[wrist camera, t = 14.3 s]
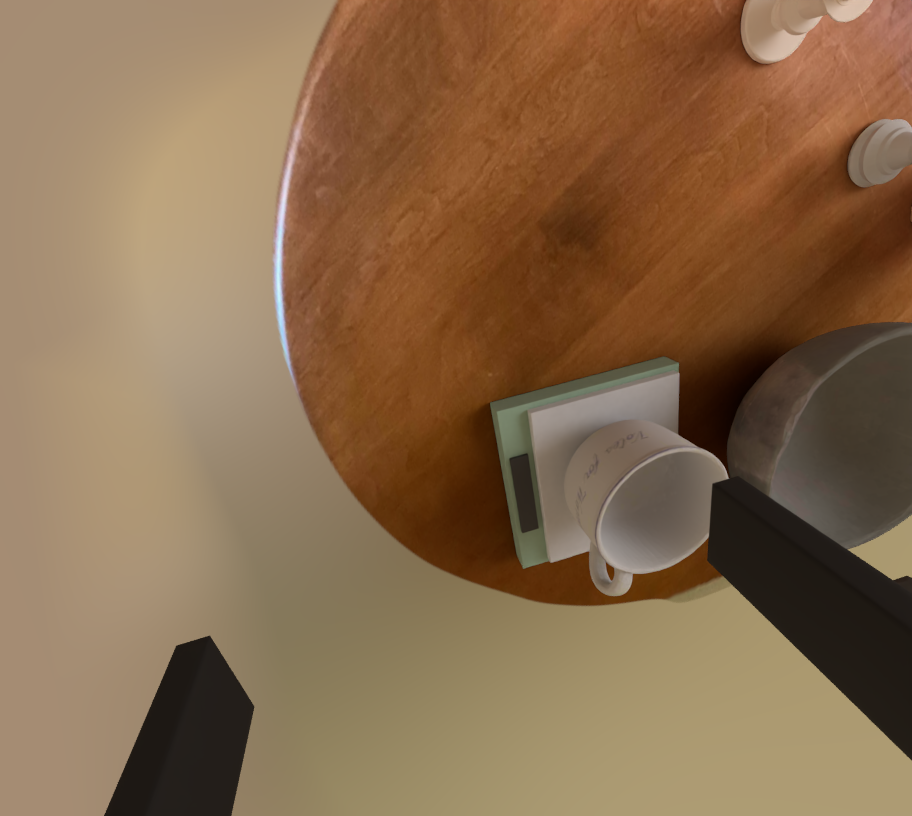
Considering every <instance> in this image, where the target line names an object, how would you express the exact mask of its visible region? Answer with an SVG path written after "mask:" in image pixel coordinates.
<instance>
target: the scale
mask: <svg viewBox="0 0 912 816" xmlns="http://www.w3.org/2000/svg"><path fill="white" fill-rule="evenodd" d="M490 406H491V412H492V418H493V423H494V429H495V435H496V440H497V446H498V452H499V457H500V463H501V469H502V474H503V480H504V486H505V491H506V497H507V502H508V508H509V514H510V519H511V525H512V531H513V536H514V542H515V548H516V553H517V556H518V558H519V561H520V563H521V565H522V567H523V569H524V568H527V567H531V566H534V565H537V564H540V563H543V562H547V561H550V562H551V563H552V562H555V561H559V560H562V559H565V558H568V557H571V556H575V555H578V554H581V553H584V552H588V551H590V542H591V540H590V539H589V537H588V536H587V535H586V533H585V532H584V531H583V530H582V528H581V527H580V526H579V524H578V523H577V521H576V520H575V518H574V517H573V515H572V514H571V512H570V510H569V507H568V505H567V502H566V499H565V493H564V480H565V474H566V471H567V468H568V465H569V462H570V460H571V458H572V457H573V455H574V453H575V452H576V450H577V449H578V448H579V446H580V445H581V444H582V443H583V442H584V441H585V440H586V439H587V438H588V437H589V436H590V435H592V434H593V433H594V432H596V431H597V430H599V429H601V428H602V427H604V426H607V425H609V424H612V423H614V422H618V421H623V420H645V421H649V422H652V423H655V424H658V425H661V426H663V427H665V428H667V429H669V430H670V431H672V432H674V433H676V434H678V414H679V363H678V362H676V361H673V360H671V359H669V358H667V357H665V356H664V357H660V358H656V359H652V360H649V361H645V362H641V363H637V364H634V365H630V366H626V367H622V368H619V369H615V370H611V371H607V372H604V373H600V374H596V375H592V376H589V377H585V378H581V379H577V380H574V381H570V382H566V383H562V384H558V385H555V386H551V387H547V388H543V389H540V390H536V391H532V392H528V393H525V394H521V395H517V396H513V397H510V398H506V399H502V400H498V401H495V402H491V403H490Z"/></svg>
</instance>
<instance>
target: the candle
mask: <svg viewBox="0 0 912 816" xmlns="http://www.w3.org/2000/svg"><path fill="white" fill-rule="evenodd" d="M872 1H873V0H746V2H745V5H744V8H743V13H742V18H741V37H742V42H743V45H744V47H745V49H746V52H747V53H748V55H749V56H750V57H751V58H752V59H753V60H755V61H757V62H759V63H762V64H771V63H775V62H778V61H781V60H783V59H784V58H786V57H788V56H789V55H791V54H792V53H793V52H794V51H795V50H796V49H797V48H798V47H799V45H800V44H801V42H802V41H803V39H804V38H805V36H806V34H807V32H808V31H810V30H811V29H813V28H814V27H815V26H816V25H817V24H818V22H819V21H820V19H821V18H822V16H824V15H827V14H828V15H829V16H830V18H831V19H833V20H835V21H837V22H848V21H852V20H854V19H855V18H857V17H858V16H860V15H861V14H862V13H863V12H864V11H865V10H866V9H867V8H868V7H869V5H870V4H871V2H872Z"/></svg>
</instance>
